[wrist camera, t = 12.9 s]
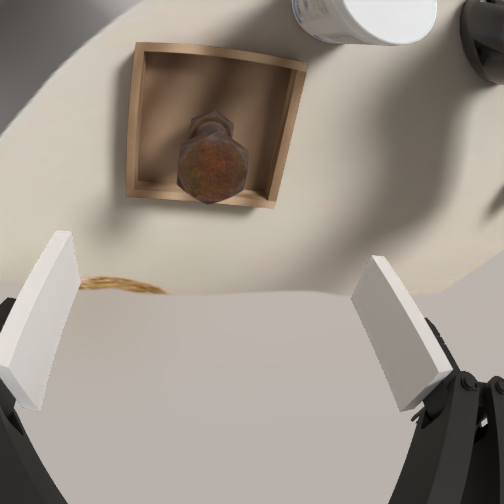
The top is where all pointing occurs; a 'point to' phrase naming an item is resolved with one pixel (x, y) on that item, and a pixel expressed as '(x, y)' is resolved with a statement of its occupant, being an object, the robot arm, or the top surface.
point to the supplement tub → (366, 20)
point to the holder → (201, 101)
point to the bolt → (212, 160)
